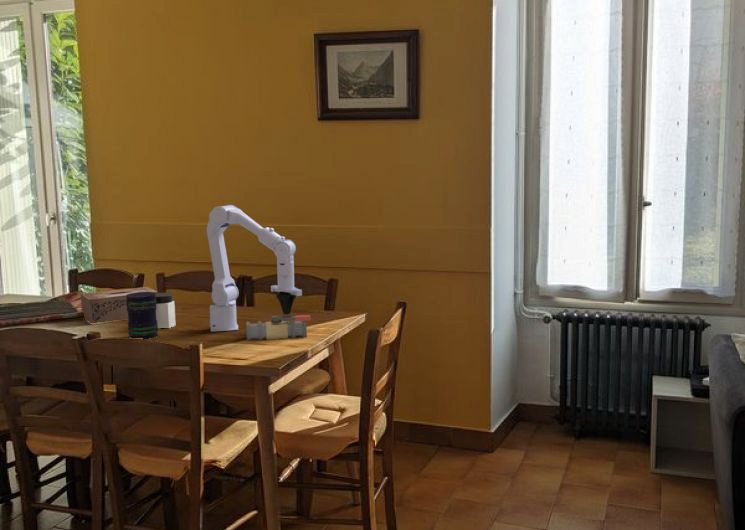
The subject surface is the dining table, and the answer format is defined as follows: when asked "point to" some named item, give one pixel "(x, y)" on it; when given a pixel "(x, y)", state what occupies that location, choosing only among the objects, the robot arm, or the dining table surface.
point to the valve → (276, 330)
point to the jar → (165, 310)
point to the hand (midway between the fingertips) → (286, 313)
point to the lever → (290, 318)
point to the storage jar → (142, 315)
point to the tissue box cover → (108, 304)
